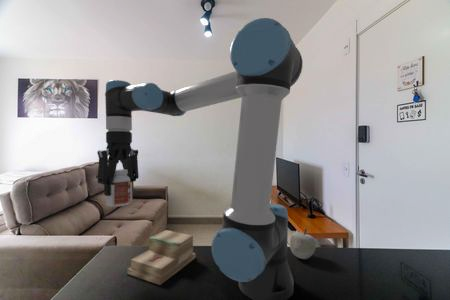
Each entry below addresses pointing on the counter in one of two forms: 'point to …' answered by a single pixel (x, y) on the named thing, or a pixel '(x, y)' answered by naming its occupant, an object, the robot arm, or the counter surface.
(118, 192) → the pill bottle
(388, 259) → the counter surface
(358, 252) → the counter surface
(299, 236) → the decorative object
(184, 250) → the stand
